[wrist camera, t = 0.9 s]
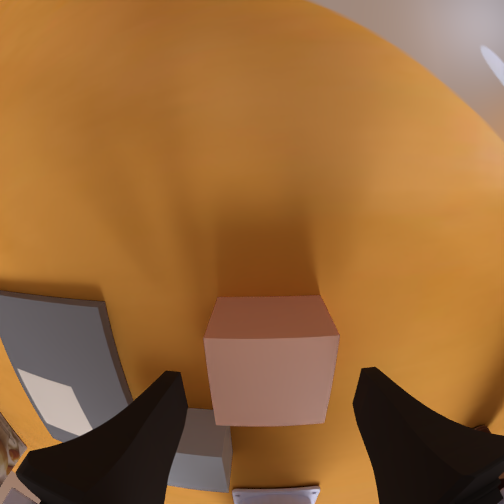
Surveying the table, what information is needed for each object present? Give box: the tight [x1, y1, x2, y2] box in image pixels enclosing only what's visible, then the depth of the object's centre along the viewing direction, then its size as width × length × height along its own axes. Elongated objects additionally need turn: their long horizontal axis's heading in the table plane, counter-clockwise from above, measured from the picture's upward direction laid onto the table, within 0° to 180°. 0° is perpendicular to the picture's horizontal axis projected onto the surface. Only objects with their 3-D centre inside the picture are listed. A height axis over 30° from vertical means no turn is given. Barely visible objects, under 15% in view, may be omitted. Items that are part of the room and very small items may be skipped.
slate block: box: [167, 408, 233, 493], centre depth 14 cm, size 5×5×4 cm
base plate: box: [0, 290, 133, 442], centre depth 16 cm, size 16×12×1 cm
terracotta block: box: [203, 295, 340, 426], centre depth 12 cm, size 5×5×4 cm
